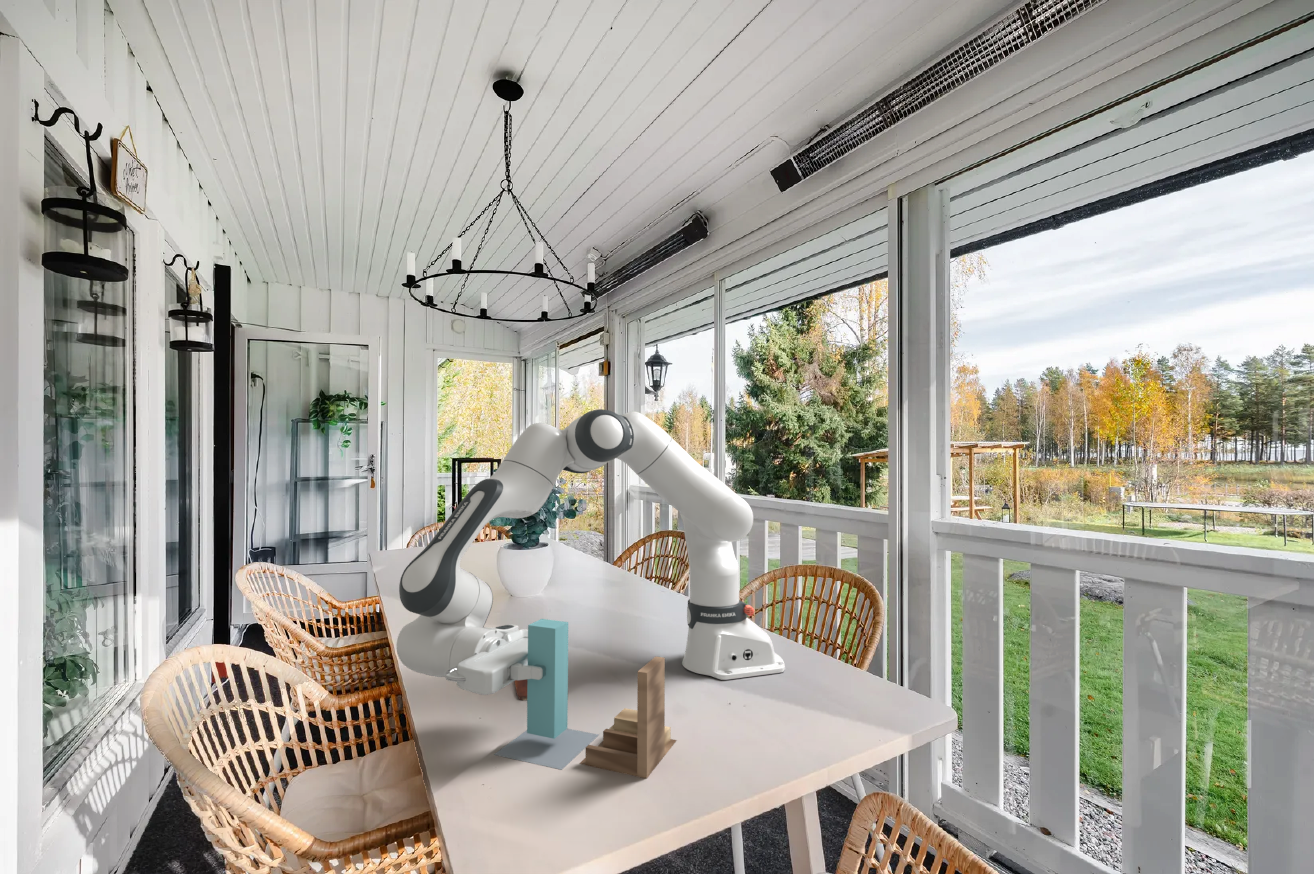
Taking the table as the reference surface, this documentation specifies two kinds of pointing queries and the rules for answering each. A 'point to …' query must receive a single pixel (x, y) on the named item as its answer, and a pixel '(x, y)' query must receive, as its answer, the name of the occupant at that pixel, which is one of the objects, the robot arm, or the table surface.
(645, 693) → the walnut rack
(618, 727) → the upper oak offcut
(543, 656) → the tall teal block
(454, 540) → the robot arm
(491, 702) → the table surface
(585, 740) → the slate mat
